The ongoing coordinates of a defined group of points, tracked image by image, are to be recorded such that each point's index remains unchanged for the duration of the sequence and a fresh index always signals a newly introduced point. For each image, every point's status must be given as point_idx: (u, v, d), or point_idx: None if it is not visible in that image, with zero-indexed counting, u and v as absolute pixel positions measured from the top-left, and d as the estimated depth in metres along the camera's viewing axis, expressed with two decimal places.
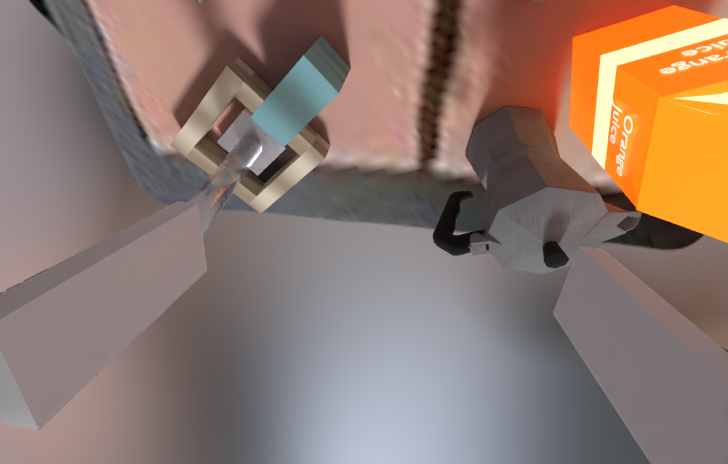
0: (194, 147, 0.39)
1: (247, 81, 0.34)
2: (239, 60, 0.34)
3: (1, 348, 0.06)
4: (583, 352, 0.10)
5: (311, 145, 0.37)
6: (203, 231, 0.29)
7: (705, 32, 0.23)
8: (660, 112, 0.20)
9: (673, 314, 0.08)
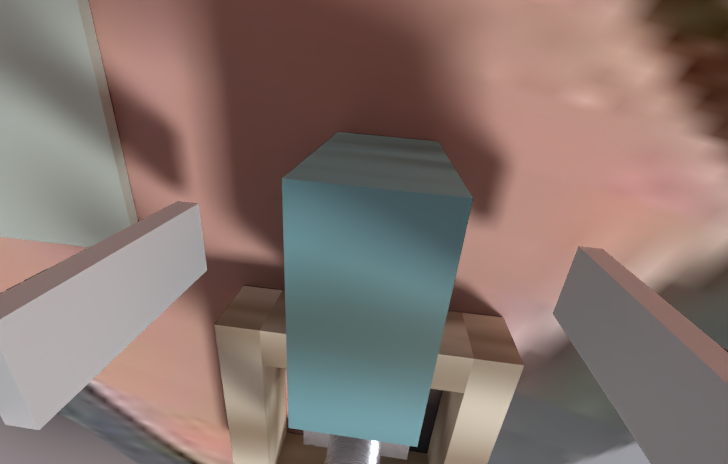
0: None
1: (268, 322, 0.15)
2: (245, 290, 0.17)
3: (1, 348, 0.06)
4: (583, 352, 0.10)
5: (472, 358, 0.14)
6: None
7: None
8: None
9: (673, 314, 0.08)
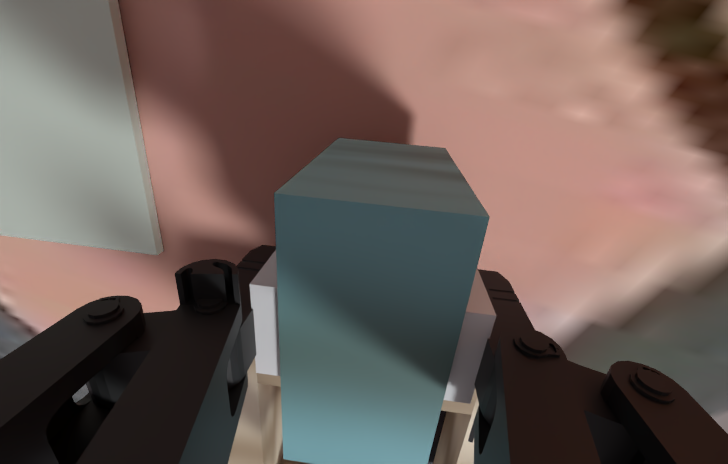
0: None
1: None
2: None
3: None
4: None
5: None
6: None
7: None
8: None
9: None
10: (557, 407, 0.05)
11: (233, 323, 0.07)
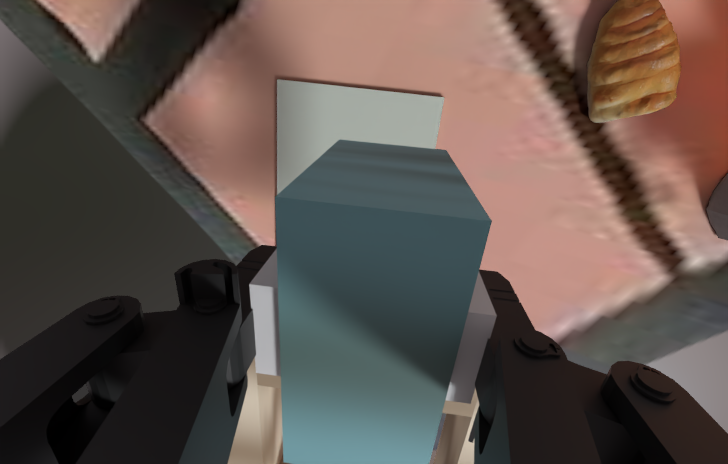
0: None
1: None
2: None
3: None
4: None
5: None
6: None
7: None
8: None
9: None
10: (557, 408, 0.05)
11: (233, 323, 0.07)
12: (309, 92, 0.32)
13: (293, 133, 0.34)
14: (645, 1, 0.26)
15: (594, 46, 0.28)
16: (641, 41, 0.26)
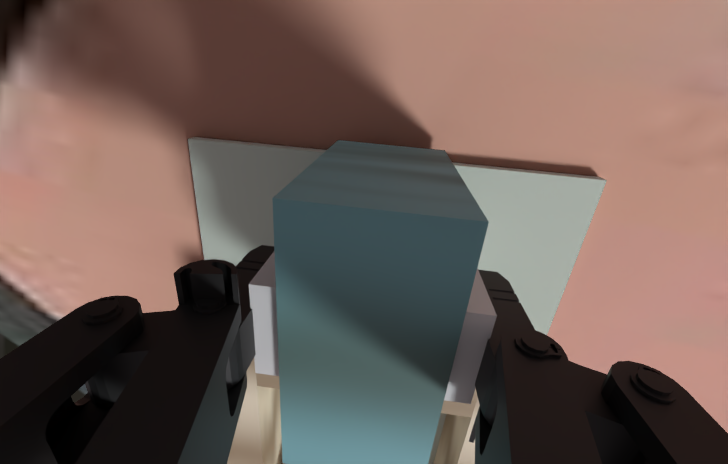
0: None
1: None
2: None
3: None
4: None
5: None
6: None
7: None
8: None
9: None
10: (558, 408, 0.05)
11: (232, 323, 0.07)
12: (267, 168, 0.13)
13: (239, 251, 0.15)
14: None
15: None
16: None
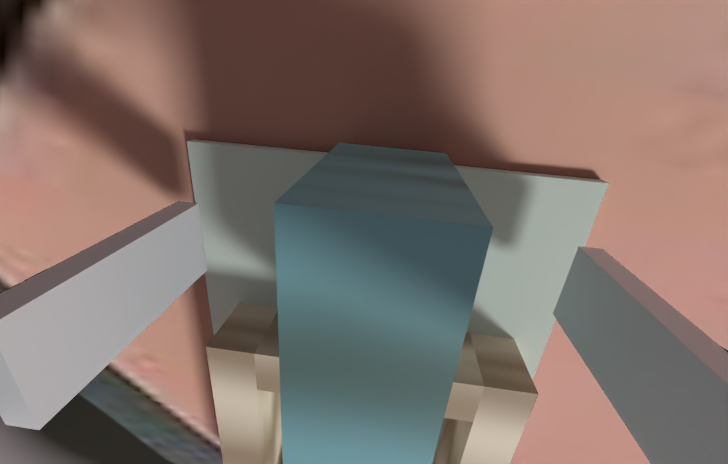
0: None
1: (263, 344, 0.14)
2: (241, 308, 0.16)
3: (1, 348, 0.06)
4: (583, 352, 0.10)
5: (482, 385, 0.13)
6: None
7: None
8: None
9: (672, 314, 0.08)
10: None
11: None
12: (267, 170, 0.13)
13: (239, 254, 0.15)
14: None
15: None
16: None
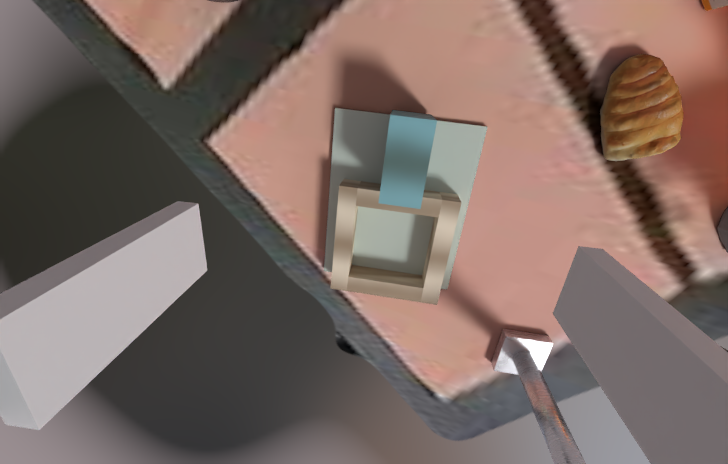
0: (349, 276, 0.40)
1: (359, 186, 0.36)
2: (345, 179, 0.38)
3: (1, 348, 0.06)
4: (583, 352, 0.10)
5: (441, 200, 0.35)
6: None
7: None
8: None
9: (673, 314, 0.08)
10: None
11: None
12: (364, 120, 0.36)
13: (347, 155, 0.37)
14: (649, 61, 0.30)
15: (606, 98, 0.32)
16: (648, 95, 0.30)
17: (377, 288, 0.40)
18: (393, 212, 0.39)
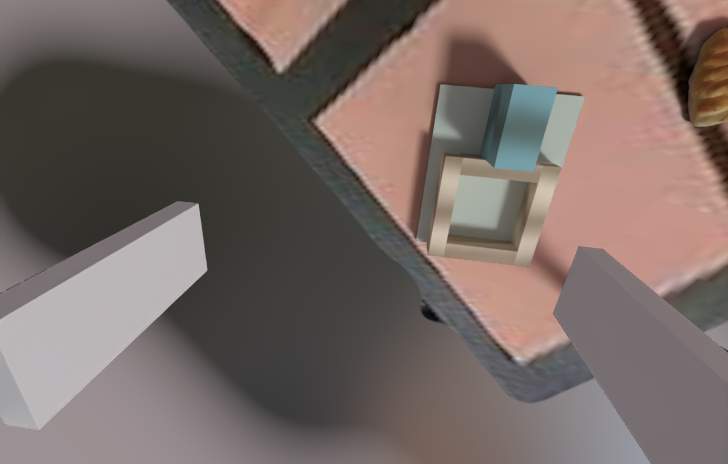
0: (446, 243, 0.43)
1: (463, 157, 0.39)
2: (445, 152, 0.41)
3: (1, 348, 0.06)
4: (583, 352, 0.10)
5: (542, 166, 0.38)
6: None
7: None
8: None
9: (673, 314, 0.08)
10: None
11: None
12: (467, 94, 0.39)
13: (448, 129, 0.40)
14: None
15: (697, 68, 0.35)
16: None
17: (473, 253, 0.43)
18: (488, 181, 0.42)
